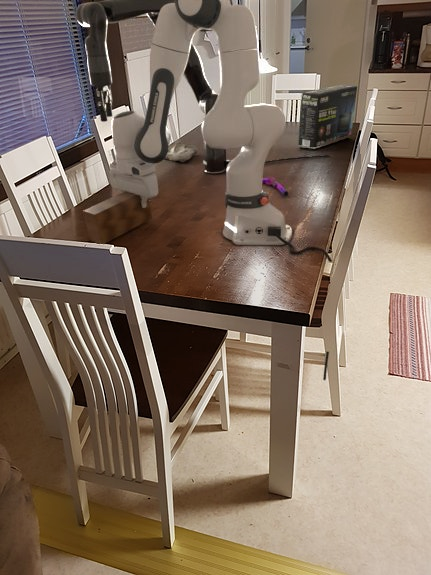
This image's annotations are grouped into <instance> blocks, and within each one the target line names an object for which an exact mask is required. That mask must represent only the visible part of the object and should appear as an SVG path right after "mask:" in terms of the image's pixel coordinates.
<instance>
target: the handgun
mask: <svg viewBox="0 0 431 575" xmlns="http://www.w3.org/2000/svg"><path fill="white" fill-rule="evenodd" d="M262 184H266V185H269V186H272V187H273V188H276V189H278V191H279V192H280V193H281V194H282V195H283V196H284V197H287V196H288V195H289V191H287V189H285V187H283V185H282V184H280V183H279V182H278V181H277V179H275V177H273V176H269V177H263V179H262Z"/></svg>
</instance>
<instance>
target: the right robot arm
mask: <svg viewBox="0 0 431 575" xmlns="http://www.w3.org/2000/svg"><path fill="white" fill-rule="evenodd" d="M198 31H199V32H201V33H203V32H204V33H205V32H213V33H214V35H215V38H216V42H217V51H218V65H219V67H218V68H219V89H218V93H217V94H218V97H217V99H216V102H215V104H214V106H213V107H212V109H211V110H210V111H209V112H208V114H207V115H206V116H205V115H204V117H203V119H202V122H201V126H200V131H201V132H200V133H201V136H202V140H203V139H204V141H205V142H206V144H207V145H208V146H209V147H210V148H215V149H226V150H230V149H236V148H240V150H239V152H238V154H237V155H236V156H235V157H234V158H232V159H230V160H231V161H230V162H229V164H228V166H227V168H226V170H225V177H226V178H225V179H226V180H225V181H226V182H225V183H226V190H225V194H224V205H225V209H226V210H225V218H224V219H225V220H224V226H223V229H222V235H223V237H225V239H228V240H230V241H232V243H233V244H234V245H236V246H283V245H286V246H288V247H290V250H289V251H290V253H291V254H293V255H300V254H302V253H304V252H305V251H308V250H315V251H320V252H322V253H323V254H324V256H325V257H326V259H327V260H328V262H330V263H333V260H332V258H331V256H330V255H329V253H328V252H327V250H325V249H324V248H322V247H319V246H312V245H311V246H306V247H303V248H302V249H300V250H295V247H294V245H293V244H292V243H290V240H291V239H292V237H293V228H292V227H291V225H288V224H286V219H285V215H284V213H283V212H282V211H280V210H279V209H278V208H277V207H276V206H275V205H272V204H271V203H270V202H269V194H270V192H269V191H267V192H266V191H265V190H263V183H262V179H263V178H264V169H265V168H264V167H265V164H266V163H265V161H267V160H266V159H267V157H268V155H269V152H270V151H271V149H272V147H273V146H274V144H276V142H277V141H279V139H280V138H281V137H282V136H283V134H284V132H285V130H286V125H287V124H286V123H287V122H286V121H287V120H286V116H285V113H284V112H283V109H281V108H280V107H279V106H278V105H274V104H267V103H259V104H251V105H245V102H246V98H247V96H248V94H249V92H251V91H252V90H253V89H255V88H256V87H257V86H258V85H259V82H260V80H261V67H260V65H261V64H260V51H259V39H258V38H259V37H258V31H257V27H256V22H255V17H254V14H253V12H252V10H251V9H250V8H249V7H248V6H246V5H243V4H234V1H233V0H175V3H169V4H166V5H164V6H163V7H162V8H161V10H160V12H159V15H158V18H157V21H156V25H155V26H154V29H153V33H152V37H151V43H150V44H151V45H150V52H149V53H150V54H149V95H148V101H147V108H146V111H145V112H146V113H145V117H144V116H143V115H141V114H139V113H137V112H136V111H135V110H126V111H122V112H119V113H117V114H116V115H114V117H113V118H112V120H111V137H112V143H113V146H114V150H115V154H114V157H115V160H112V161H111V162H110V164H109V184H110V186H111V188H112V189H114V190H118V191H120V193H123V192H129V193H132V194H136V195H140V196H141V199H142V201H141V202H140V207H142V208H145V207H146V206H147V204H146V202H147V199H148V198H149V199H153V198H155V197H157V196H158V194H159V183H158V178H157V174H156V173H155V172H156V171H157V169H156V165H155V164H159V163H160V162H162V161H163V160H165V159H164V158H165V157H166V155H167V153H168V150H169V146H170V142H171V138H172V137H171V136H172V135H171V131H170V128H169V127H168V126H167V124H168V119H169V114H170V107H171V103H172V99H173V97H174V94H175V91H176V90H177V88H178V86H179V84H180V82H181V80H182V78H183V77H184V75H183V73H184V71H185V68H186V65H187V61H188V57H189V52H190V47H191V42H192V43H193V39H194V36H195V34H196V33H197V32H198ZM329 355H330V351H327V350H326V351H325V361H324V368H323V378H322V380H323V381H326V380H327V371H328V362H329Z"/></svg>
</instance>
